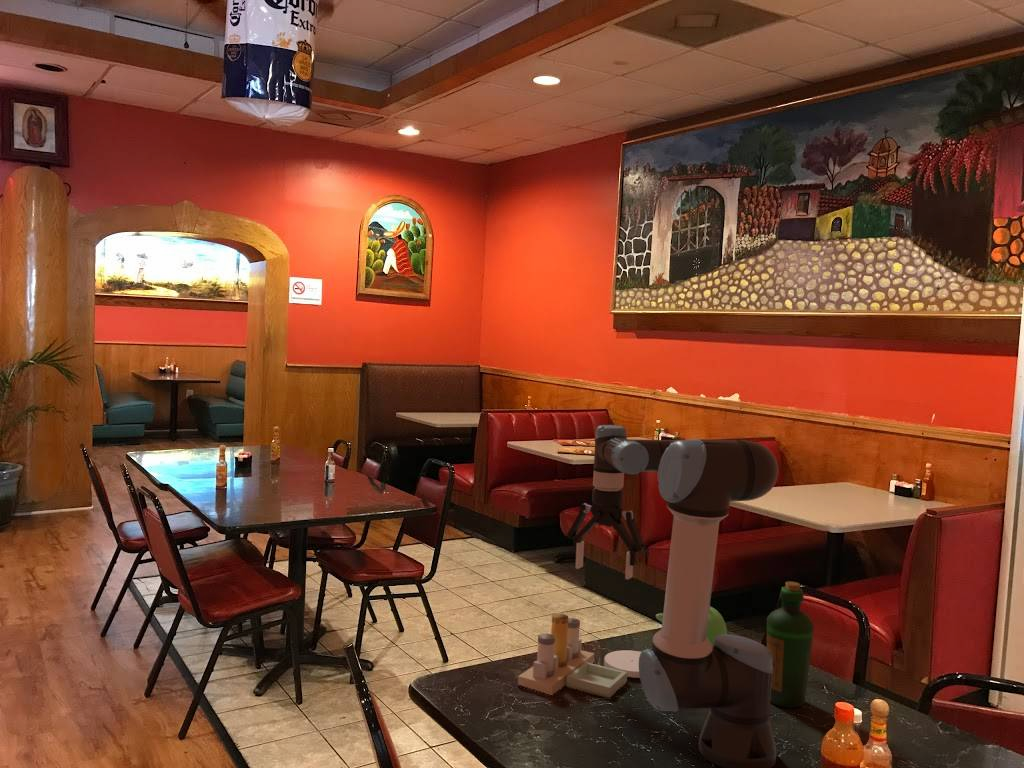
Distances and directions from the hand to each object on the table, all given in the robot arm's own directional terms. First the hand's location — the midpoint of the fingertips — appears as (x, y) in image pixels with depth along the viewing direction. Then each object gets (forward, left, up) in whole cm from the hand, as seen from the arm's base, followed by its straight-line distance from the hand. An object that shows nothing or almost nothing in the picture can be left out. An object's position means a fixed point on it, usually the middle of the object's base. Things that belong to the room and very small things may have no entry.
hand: (603, 572), depth 209 cm
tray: (-8, -3, -25) cm, 26 cm away
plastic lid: (+6, -6, -25) cm, 27 cm away
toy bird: (+24, -16, -25) cm, 38 cm away
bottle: (+9, -43, -25) cm, 51 cm away
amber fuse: (-8, +8, -22) cm, 25 cm away
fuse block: (-8, +8, -25) cm, 27 cm away
